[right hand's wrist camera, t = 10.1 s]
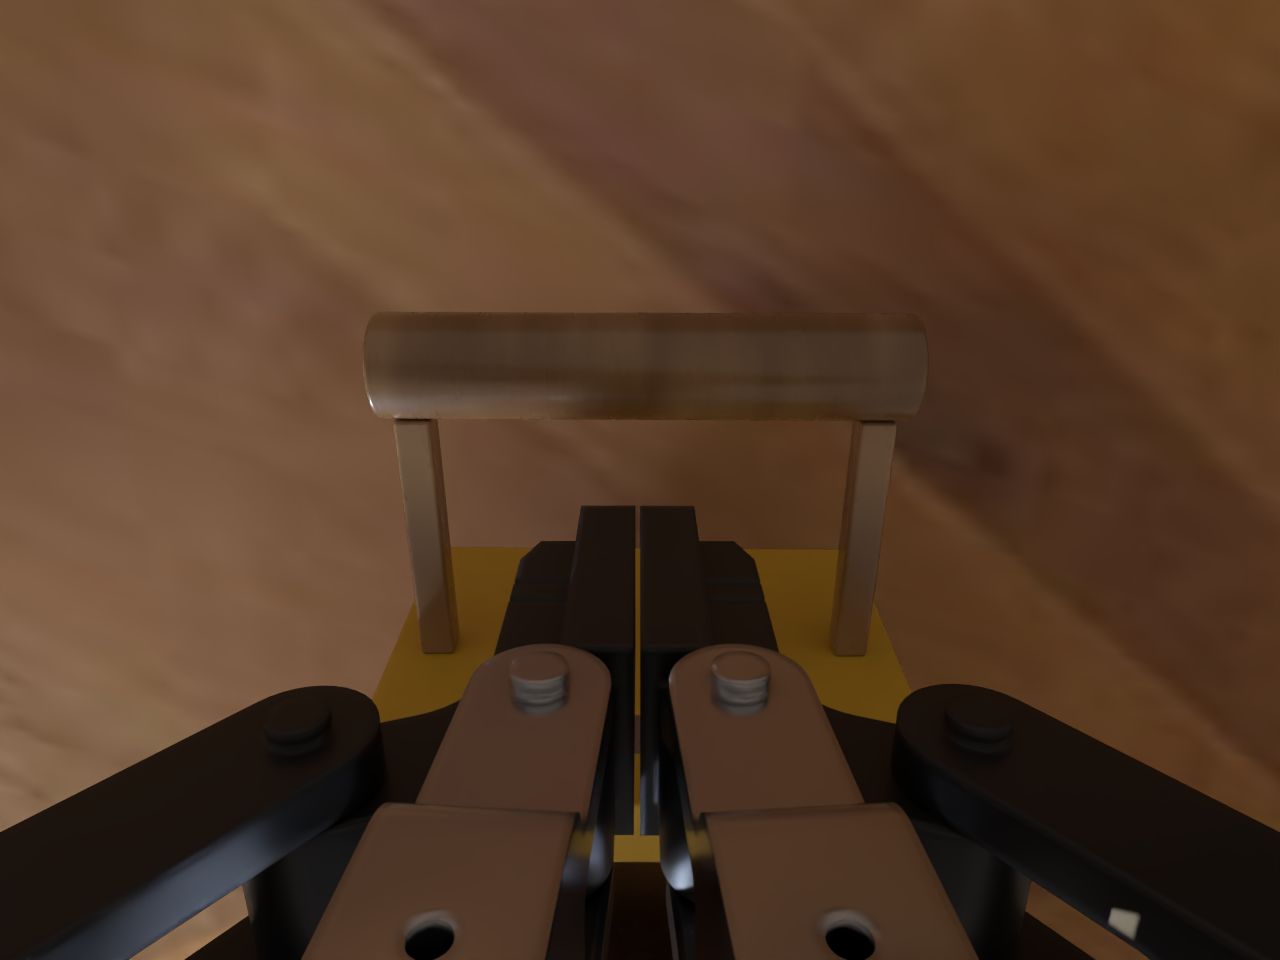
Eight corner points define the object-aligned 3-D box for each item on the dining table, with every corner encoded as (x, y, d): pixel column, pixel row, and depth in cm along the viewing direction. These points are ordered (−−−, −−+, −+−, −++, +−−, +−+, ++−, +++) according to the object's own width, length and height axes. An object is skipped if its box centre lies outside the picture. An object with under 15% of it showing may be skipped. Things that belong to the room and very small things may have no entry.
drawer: (405, 264, 17) (245, 400, 10) (887, 264, 17) (1045, 403, 10) (492, 1046, 27) (441, 1373, 21) (792, 1049, 27) (840, 1377, 21)
